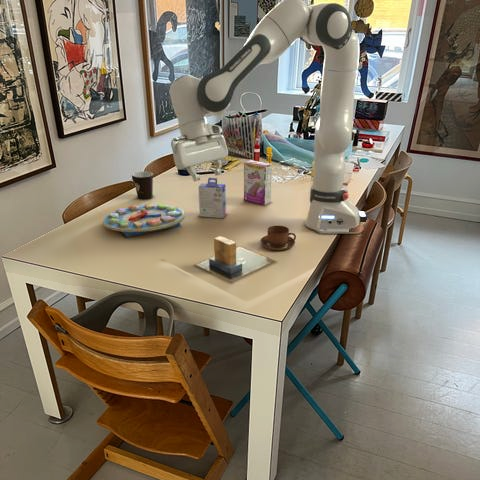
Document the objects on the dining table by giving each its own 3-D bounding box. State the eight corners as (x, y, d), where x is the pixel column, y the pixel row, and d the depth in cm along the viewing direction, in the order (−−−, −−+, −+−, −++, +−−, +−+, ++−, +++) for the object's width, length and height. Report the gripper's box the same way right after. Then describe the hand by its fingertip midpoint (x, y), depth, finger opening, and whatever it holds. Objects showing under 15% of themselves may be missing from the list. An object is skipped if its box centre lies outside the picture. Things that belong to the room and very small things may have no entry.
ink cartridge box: (226, 213, 193) (226, 177, 185) (223, 218, 188) (222, 182, 181) (203, 212, 195) (201, 176, 187) (199, 216, 190) (197, 180, 182)
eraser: (209, 264, 153) (207, 238, 148) (220, 259, 156) (219, 233, 151) (230, 274, 147) (230, 247, 142) (242, 269, 150) (242, 242, 145)
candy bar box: (243, 200, 206) (243, 162, 198) (249, 197, 210) (250, 159, 201) (264, 206, 201) (265, 166, 192) (271, 202, 204) (272, 163, 195)
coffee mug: (157, 199, 208) (154, 176, 203) (137, 201, 206) (134, 178, 200) (151, 191, 217) (148, 169, 212) (132, 193, 215) (129, 171, 209)
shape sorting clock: (167, 205, 201) (166, 191, 198) (197, 229, 179) (197, 214, 176) (94, 218, 189) (92, 203, 185) (117, 246, 166) (115, 229, 163)
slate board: (239, 247, 165) (239, 246, 165) (274, 262, 156) (274, 260, 155) (195, 266, 153) (195, 264, 153) (230, 282, 144) (230, 281, 143)
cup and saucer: (290, 238, 172) (291, 222, 169) (298, 252, 162) (299, 235, 159) (257, 240, 171) (257, 223, 167) (263, 254, 161) (264, 237, 157)
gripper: (175, 135, 140) (189, 182, 144) (224, 126, 153) (236, 169, 157) (163, 141, 145) (177, 186, 149) (212, 131, 158) (223, 173, 162)
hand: (208, 177), depth 153 cm, fingers open, 8 cm apart
